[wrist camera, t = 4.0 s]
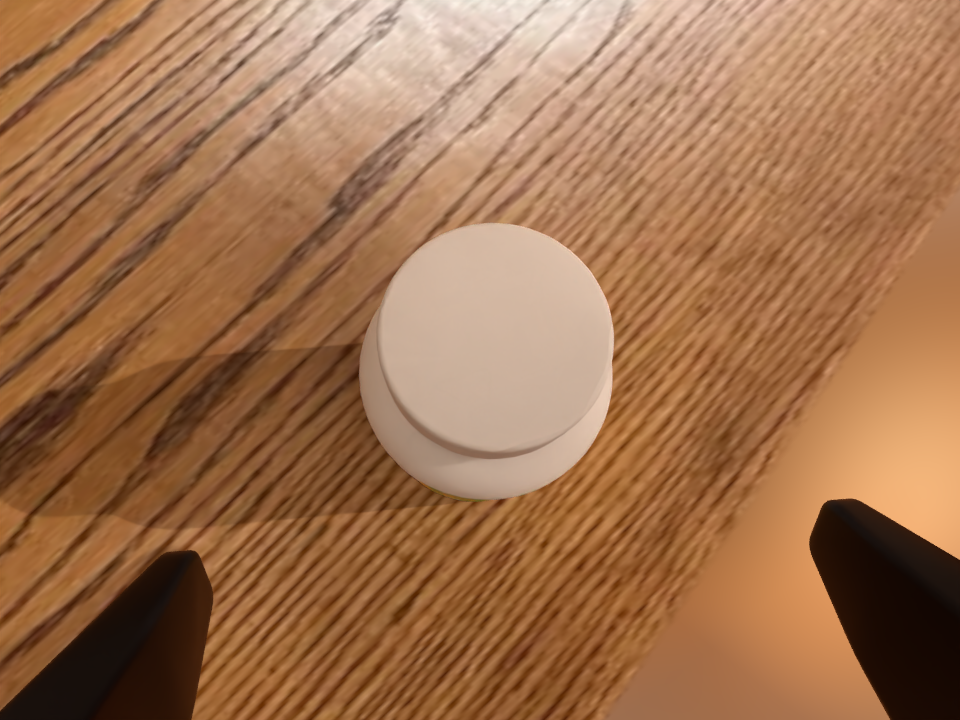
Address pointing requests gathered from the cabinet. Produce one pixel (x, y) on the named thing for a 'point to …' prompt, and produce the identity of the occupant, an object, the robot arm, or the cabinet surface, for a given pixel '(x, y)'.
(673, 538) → the cabinet surface
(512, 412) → the supplement bottle
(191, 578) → the robot arm
